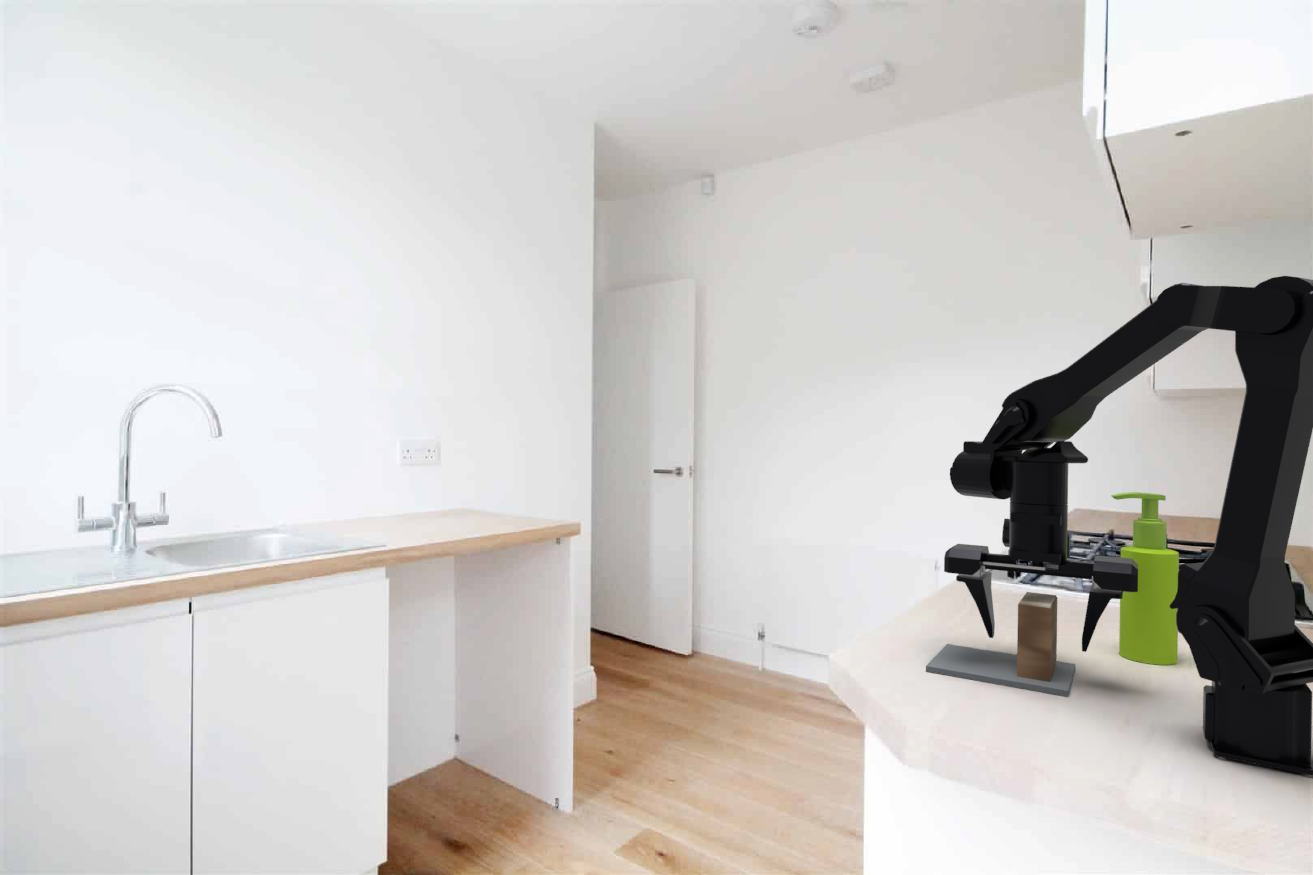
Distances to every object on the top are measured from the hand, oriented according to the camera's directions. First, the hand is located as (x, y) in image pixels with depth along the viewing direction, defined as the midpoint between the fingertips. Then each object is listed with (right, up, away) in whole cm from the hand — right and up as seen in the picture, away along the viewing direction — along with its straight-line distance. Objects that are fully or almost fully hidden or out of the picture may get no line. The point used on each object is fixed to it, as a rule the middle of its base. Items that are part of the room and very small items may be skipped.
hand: (1036, 643), depth 82 cm
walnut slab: (0, -3, 0) cm, 3 cm away
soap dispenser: (+17, -4, +8) cm, 19 cm away
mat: (-3, -4, +2) cm, 5 cm away
